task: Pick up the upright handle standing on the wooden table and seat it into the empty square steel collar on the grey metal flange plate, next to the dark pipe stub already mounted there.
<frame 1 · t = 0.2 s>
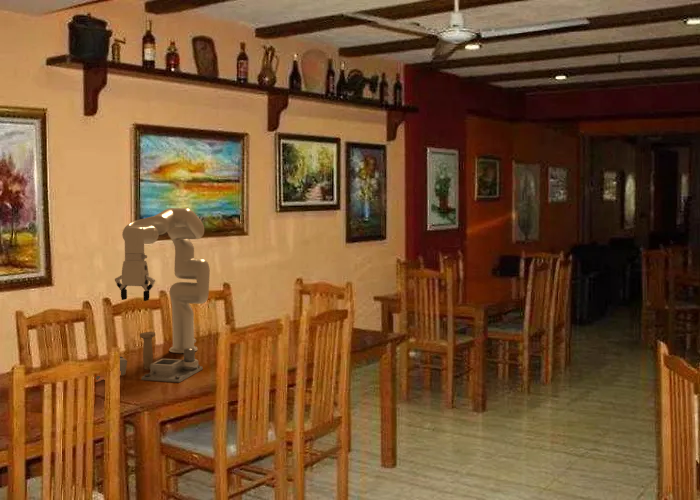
hand: (135, 300, 316), 30 cm above the table, tool pointing down, fingers open, 9 cm apart
handle: (148, 369, 327), on the table
hinge: (108, 379, 311), on the table
fitting: (172, 374, 318), on the table
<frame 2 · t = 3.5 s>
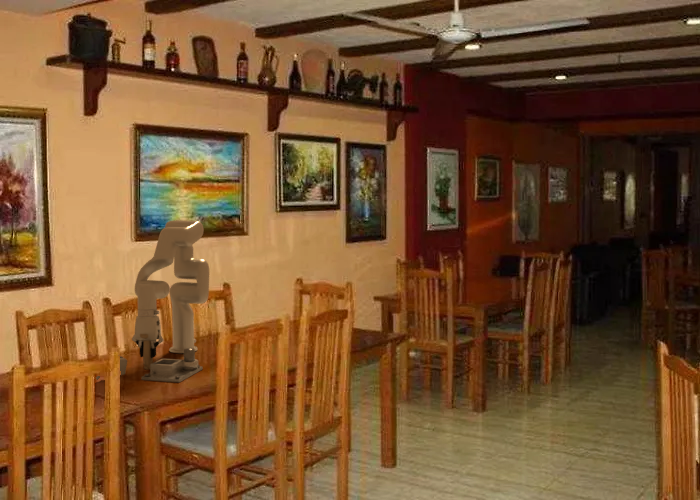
hand: (147, 356, 326), 5 cm above the table, tool pointing down, fingers closed on handle, 3 cm apart
handle: (148, 369, 327), on the table, touching gripper
everything else where it was.
when the fingers open (7 cm above the table, at t = 9.7 s): handle stays where it is, resting on fitting.
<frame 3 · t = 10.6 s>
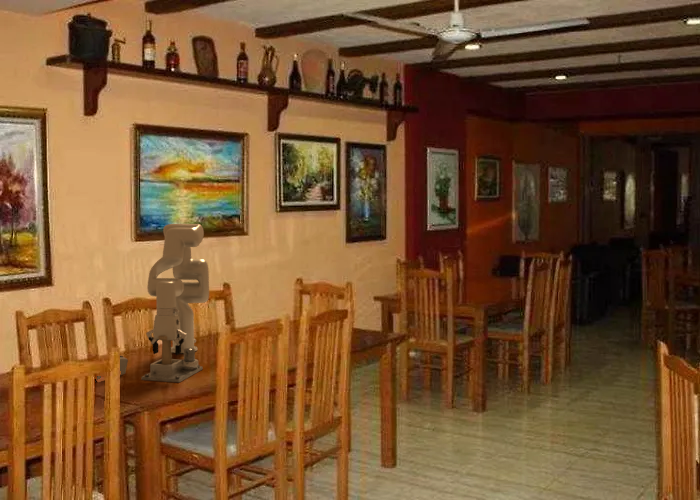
hand: (166, 353, 316), 8 cm above the table, tool pointing down, fingers open, 9 cm apart
handle: (167, 372, 317), point 1 cm above the table, touching fitting
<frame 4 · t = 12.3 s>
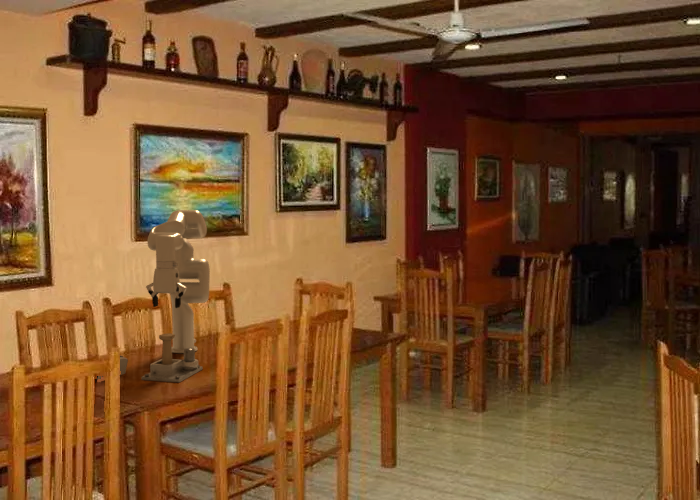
hand: (166, 306, 321), 27 cm above the table, tool pointing down, fingers open, 9 cm apart
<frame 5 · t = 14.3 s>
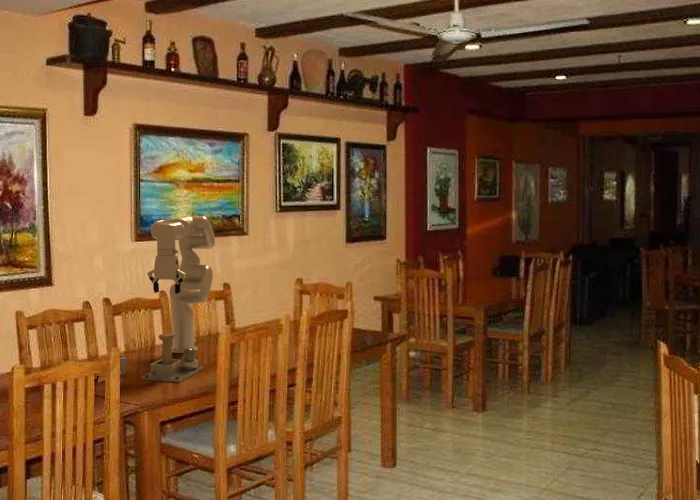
hand: (166, 292, 335), 30 cm above the table, tool pointing down, fingers open, 9 cm apart
at the end: handle 0.2 cm from the target spot on the fitting, point 1.0 cm above the fitting's base; handle tilted 0°; the gripper is holding nothing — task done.
